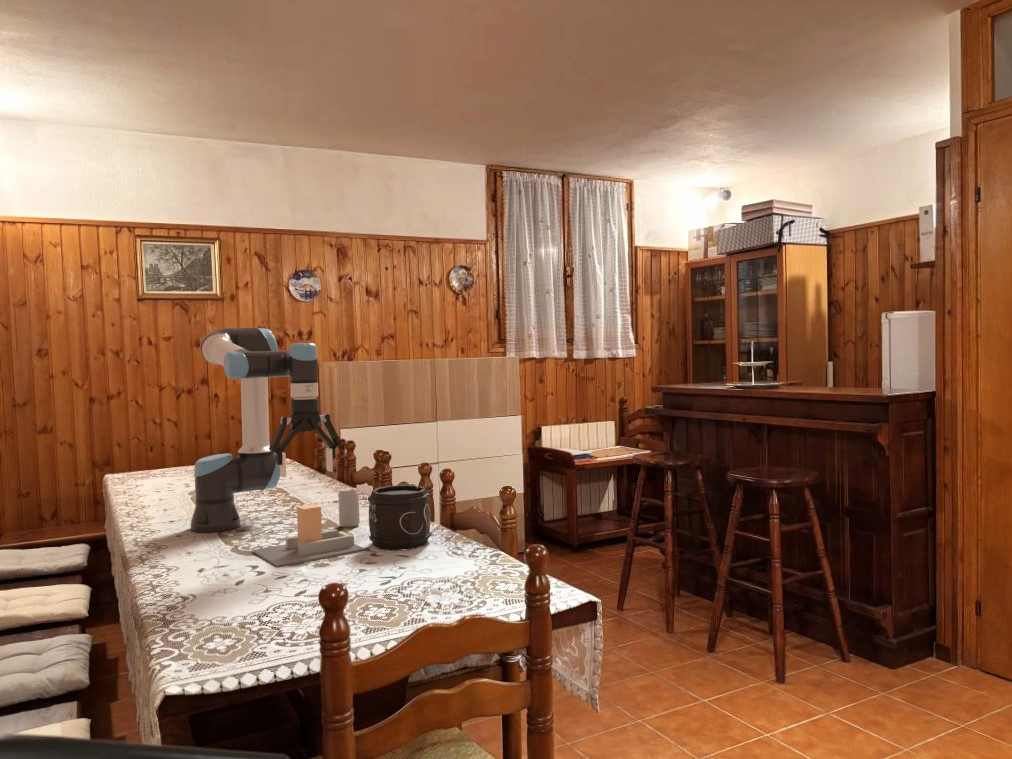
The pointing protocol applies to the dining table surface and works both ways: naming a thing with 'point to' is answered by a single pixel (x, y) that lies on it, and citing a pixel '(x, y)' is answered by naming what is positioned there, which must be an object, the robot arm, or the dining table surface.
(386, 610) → the dining table surface
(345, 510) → the beverage can
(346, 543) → the end holder
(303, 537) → the block
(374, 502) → the wooden barrel
